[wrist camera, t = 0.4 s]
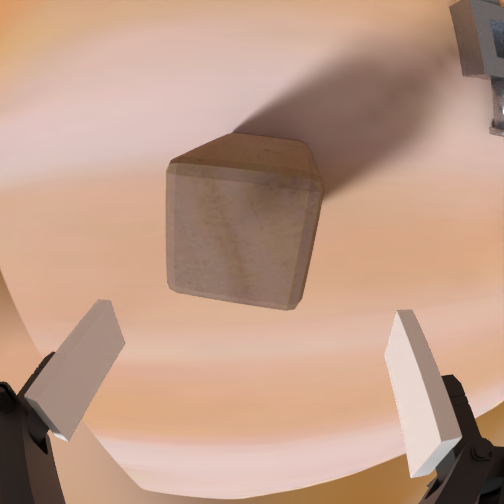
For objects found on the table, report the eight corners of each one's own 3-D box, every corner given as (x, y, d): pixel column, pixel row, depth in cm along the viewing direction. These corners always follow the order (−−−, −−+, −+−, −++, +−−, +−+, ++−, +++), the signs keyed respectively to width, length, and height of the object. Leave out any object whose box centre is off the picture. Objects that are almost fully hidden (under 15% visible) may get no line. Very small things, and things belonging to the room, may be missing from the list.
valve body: (435, -38, 21) (451, -52, 16) (491, -23, 19) (510, -32, 14) (467, 130, 31) (490, 136, 26) (518, 134, 29) (542, 141, 24)
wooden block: (309, 141, 35) (328, 178, 17) (297, 219, 40) (299, 318, 22) (226, 131, 36) (160, 157, 18) (219, 208, 40) (162, 295, 22)
